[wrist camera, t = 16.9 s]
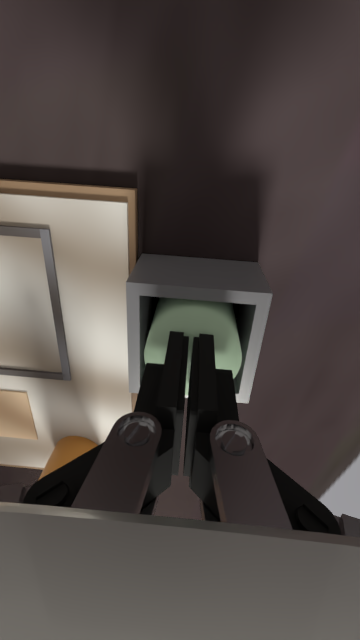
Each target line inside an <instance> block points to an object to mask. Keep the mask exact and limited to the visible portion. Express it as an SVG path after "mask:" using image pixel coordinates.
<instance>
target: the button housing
mask: <svg viewBox="0 0 360 640" xmlns="http://www.w3.org/2000/svg"><path fill="white" fill-rule="evenodd" d="M272 295H273V293H272V291H271V289H270V287H269V285H268V283H267V280H266V278H265V276H264V274H263V272H262V270H261V268H260V265H259V263H258V262H247V261H234V260H221V259H208V258H195V257H182V256H169V255H157V254H144V253H142V254H141V256H140V258H139V260H138V261H137V263H136V265H135V267H134V268H133V270H132V272H131V274H130V276H129V277H128V279H127V281H126V305H127V341H128V377H129V393H139V389H140V385H141V381H142V377H143V374H144V370H145V366H146V364H145V360H144V349H145V345H146V342H147V338H148V335H149V331H150V328H151V322H152V296H153V297H165V298H177V299H189V300H202V301H214V302H226V303H239V304H240V307H239V313H238V319H237V330H238V336H239V341H240V346H241V352H242V362H241V366H240V369H239V371H238V373H237V375H236V377H235V378H234V387H235V394H236V402H239V403H248V402H249V398H250V393H251V389H252V384H253V380H254V375H255V371H256V366H257V362H258V357H259V353H260V348H261V344H262V339H263V335H264V331H265V326H266V322H267V317H268V313H269V308H270V304H271V299H272ZM185 398H188V395H185Z"/></svg>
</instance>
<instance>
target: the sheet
mask: <svg viewBox="0 0 360 640" xmlns="http://www.w3.org/2000/svg"><path fill="white" fill-rule="evenodd" d="M137 261H138V226H137V188H123V187H109V186H95V185H81V184H67V183H53V182H39V181H25V180H11V179H0V465H1V466H11V467H21V468H32V469H42V470H44V468H45V466H46V464H47V462H48V460H49V458H50V456H51V454H52V452H53V450H54V448H55V446H56V444H57V442H58V441H59V440H60V439H62V438H64V437H68V436H80V437H84V438H87V439H89V440H91V441H93V442H94V443H96V444H97V445H100V444H101V443H103V442H105V440H106V438H107V436H108V435H109V433H110V431H111V429H112V427H113V425H114V424H115V422H116V421H117V420H118V419H119V418H120V417H122V416H123V415H126V414H128V413H131V412H134V408H135V404H136V401H137V397H138V393H129V377H128V341H127V305H126V281H127V279H128V277H129V276H130V274H131V272H132V270H133V268H134V267H135V265H136V263H137Z"/></svg>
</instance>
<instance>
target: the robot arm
mask: <svg viewBox="0 0 360 640" xmlns="http://www.w3.org/2000/svg"><path fill="white" fill-rule="evenodd" d="M188 346H189V336H184V332H176V331H170V334H169V339H168V345H167V351H166V356H165V362H164V364H157V363H146V366H145V370H144V374H143V377H142V381H141V385H140V389H139V393H138V397H137V401H136V404H135V408H134V412H131V413H128V414H126V415H123V416H122V417H120V418H119V419H118V420H117V421H116V422H115V424H114V425H113V427H112V429H111V431H110V433H109V435H108V436H107V438H106V440H105V442H103V443H101V444H100V445H98V446H96V447H94V448H93V449H91V450H89V451H88V452H86V453H84V454H82V455H81V456H79V457H77V458H75V459H74V460H72V461H70V462H69V463H67V464H65V465H63V466H62V467H60V468H58V469H56V470H55V471H53V472H51V473H49V474H48V475H46V476H44V477H43V478H41V479H40V480H38V481H37V482H36V483H34V484H33V485H32V486H24V483H16V484H8V485H0V640H360V519H357V518H354V517H351V516H348V515H345V514H342V515H341V517H337V516H334V515H333V514H332V512H330V510H328V508H327V507H326V506H325V505H323V504H322V503H321V502H320V501H318V500H317V499H316V498H315V497H314V496H312V495H311V494H310V493H309V492H307V491H306V490H305V489H304V488H303V487H301V486H300V485H299V484H298V483H296V482H295V481H294V480H293V479H291V478H290V477H289V476H288V475H287V474H285V473H284V472H283V471H282V470H280V469H279V468H278V467H277V466H275V465H274V464H273V463H272V462H271V461H269V460H268V459H267V458H266V456H265V453H264V451H263V448H262V445H261V443H260V440H259V438H258V436H257V434H256V432H255V431H254V430H253V429H252V428H251V427H249V426H248V425H246V424H244V423H242V422H239V417H238V410H237V402H236V394H235V387H234V379H233V373H232V370H225V369H216V366H215V349H214V335H211V334H199V337H194V338H193V348H192V359H191V369H190V379H189V390H188V404H187V421H186V438H185V455H184V472H183V476H190V477H189V487H191V489H192V490H193V491H194V493H195V494H196V495H197V496H198V497H199V498H200V511H201V518H202V520H193V519H183V518H173V517H163V516H154V514H155V511H156V507H157V503H158V497H159V494H161V493H162V492H163V491H165V490H166V489H167V488H168V487H170V485H171V475H178V470H179V459H180V448H181V437H182V426H183V415H184V403H185V388H186V374H187V360H188Z"/></svg>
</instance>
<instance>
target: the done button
mask: <svg viewBox="0 0 360 640" xmlns="http://www.w3.org/2000/svg"><path fill="white" fill-rule="evenodd" d="M170 331H176V332H184V336H189V346H188V360H187V374H186V388H185V395H188V390H189V379H190V369H191V359H192V348H193V338H194V337H199V334H211V335H214V349H215V366H216V369H225V370H232V373H233V379H234V378H235V377H236V375H237V373H238V371H239V369H240V366H241V362H242V352H241V346H240V341H239V336H238V330H237V325H236V319H235V314H234V308H233V303H226V302H214V301H202V300H189V299H177V298H165V297H159V300H158V303H157V307H156V310H155V314H154V317H153V321H152V324H151V328H150V331H149V335H148V338H147V342H146V345H145V349H144V360H145V364H146V363H157V364H164V362H165V356H166V351H167V345H168V339H169V334H170Z"/></svg>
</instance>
